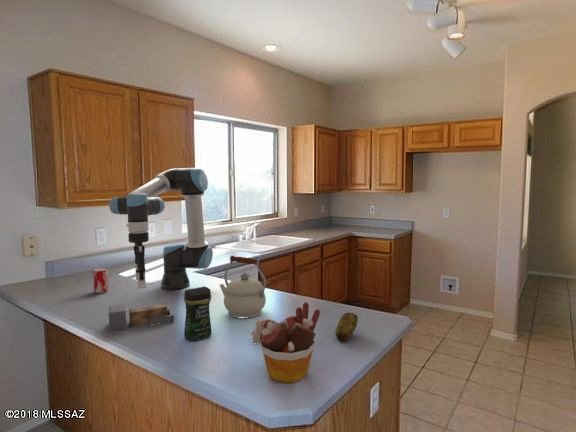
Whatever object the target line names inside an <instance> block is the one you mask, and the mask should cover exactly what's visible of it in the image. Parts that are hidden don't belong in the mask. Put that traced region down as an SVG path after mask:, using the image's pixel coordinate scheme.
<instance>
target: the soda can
mask: <svg viewBox="0 0 576 432" xmlns="http://www.w3.org/2000/svg"><path fill="white" fill-rule="evenodd" d="M92 285H93V287H92V288H93V292H94V293H96V294H104V293H107V292H108V290H109V272H108V271H107V268H105V267H99V268H95V269H94V270H93V272H92Z"/></svg>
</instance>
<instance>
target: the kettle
mask: <svg viewBox="0 0 576 432" xmlns="http://www.w3.org/2000/svg"><path fill="white" fill-rule="evenodd" d="M229 257H230V258H229V263H230V264H229V266H228V267H227V269H226V270H225V271H224V274H223V277H224V282H225V284H224V283H220V284H219V288H220V290H221V292H222V295H223V296H224V298H223V305H224V307H225V309H226V311H228V315H229V314H230V315H232V316H235V317H245V318H244V319H247V318H246V317H252V318H255V317H254V316H256V317H258V316H259V315H261V314H262V310H263V309H264V307H265V306H266V302H267V301H266V299H267V298H266V295H265V290H266V287H267V279H266V277H265V274H264V273H263V271H262V270H261V268H260V259H259V258H251V257H245V256H235V255H230V256H229ZM234 262H236V263H240V264H247V265H255V266H256V269H257V272H258V273H259V274H260V275H261V278H262V280H263V284H262V282H260V281H259V280H257V279H255V278H251V277H250V275H249V274H248V273H246V272H244V273H242V274H241V275H240V276H239V278H235V279H233V280H231V281H230V282H228V276H227V275H228V272H229V270H230V269H231V267H233V263H234ZM225 285H226V286H225ZM230 315H229V316H230ZM257 315H258V316H257ZM232 316H231V317H232ZM235 317H234V318H235Z"/></svg>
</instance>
